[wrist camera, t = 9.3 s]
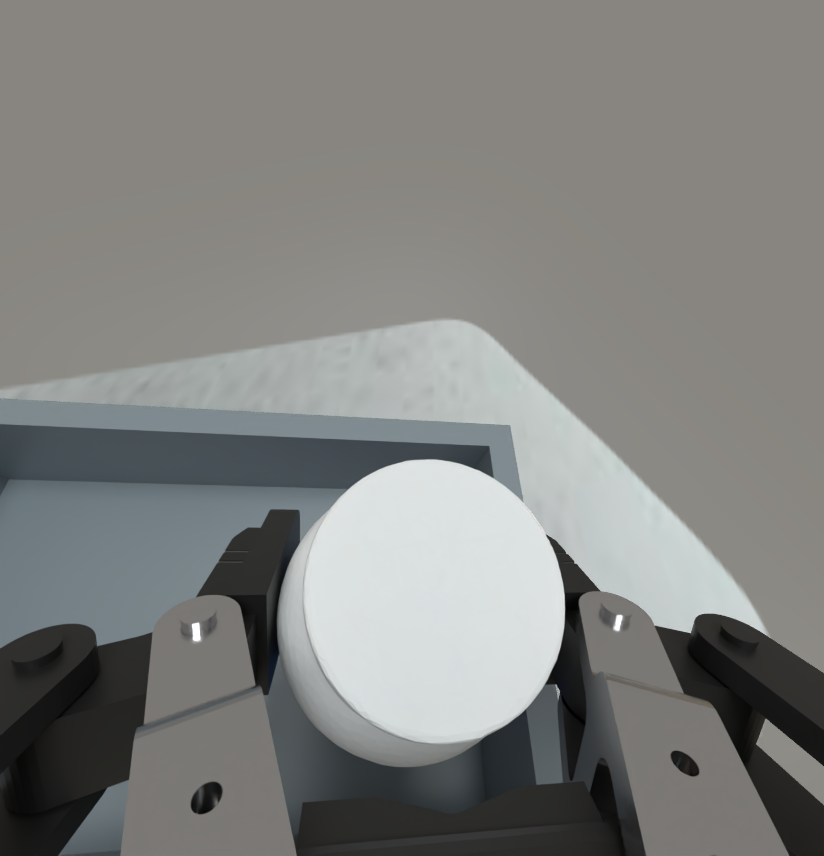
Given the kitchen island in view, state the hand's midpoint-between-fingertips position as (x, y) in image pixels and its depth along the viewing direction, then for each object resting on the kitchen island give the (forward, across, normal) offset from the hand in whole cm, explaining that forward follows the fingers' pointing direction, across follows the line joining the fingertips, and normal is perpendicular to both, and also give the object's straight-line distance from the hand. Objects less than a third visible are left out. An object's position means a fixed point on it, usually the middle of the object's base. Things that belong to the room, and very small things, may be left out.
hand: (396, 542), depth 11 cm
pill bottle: (+2, 0, +5) cm, 5 cm away
